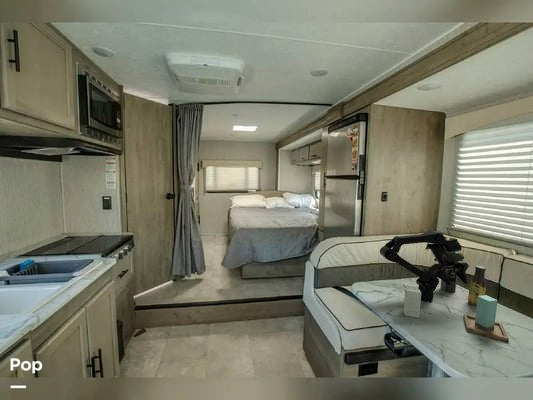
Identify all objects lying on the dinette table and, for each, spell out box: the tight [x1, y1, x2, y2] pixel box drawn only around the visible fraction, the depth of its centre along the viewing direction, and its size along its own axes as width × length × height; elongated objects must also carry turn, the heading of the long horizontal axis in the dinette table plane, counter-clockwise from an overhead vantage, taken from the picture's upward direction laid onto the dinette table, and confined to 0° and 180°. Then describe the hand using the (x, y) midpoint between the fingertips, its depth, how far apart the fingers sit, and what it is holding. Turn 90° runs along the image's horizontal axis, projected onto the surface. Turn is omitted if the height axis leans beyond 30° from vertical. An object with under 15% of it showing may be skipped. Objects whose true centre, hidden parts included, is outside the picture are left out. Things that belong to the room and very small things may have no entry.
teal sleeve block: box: [475, 294, 498, 331], centre depth 109 cm, size 4×4×13 cm
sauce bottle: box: [467, 265, 487, 307], centre depth 130 cm, size 7×6×20 cm
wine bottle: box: [440, 237, 459, 293], centre depth 145 cm, size 6×6×30 cm
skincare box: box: [403, 286, 422, 319], centre depth 119 cm, size 6×4×12 cm
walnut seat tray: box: [463, 313, 510, 343], centre depth 110 cm, size 13×13×2 cm
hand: (458, 284), depth 122 cm, fingers open, 9 cm apart
